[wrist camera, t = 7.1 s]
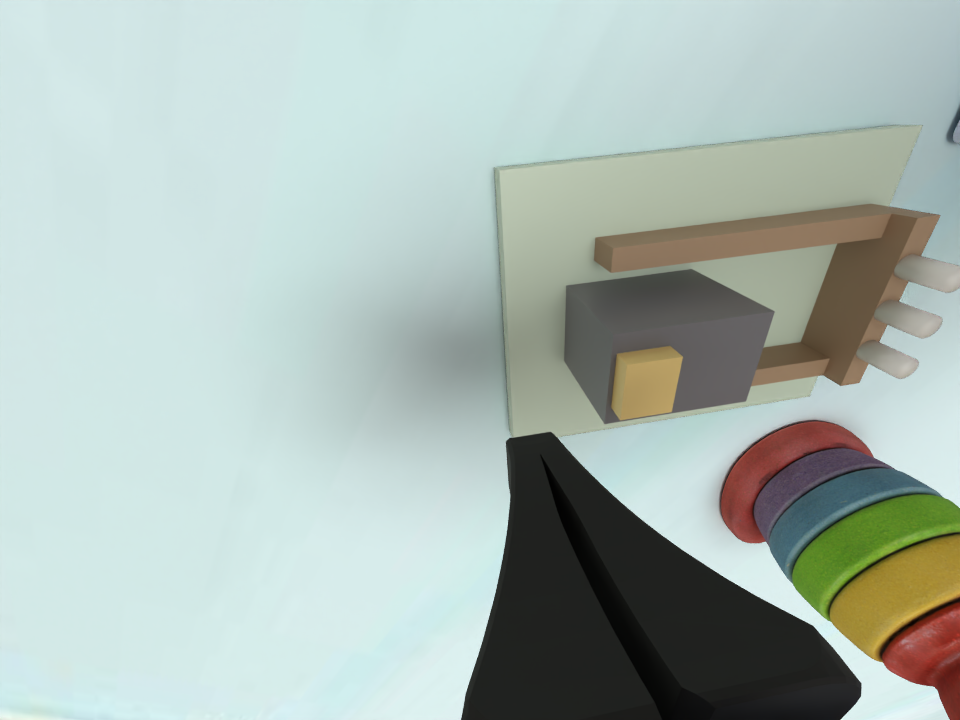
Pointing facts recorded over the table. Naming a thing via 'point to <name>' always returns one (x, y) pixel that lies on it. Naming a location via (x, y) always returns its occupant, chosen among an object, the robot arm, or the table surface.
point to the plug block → (662, 343)
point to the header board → (719, 257)
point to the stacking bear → (858, 546)
